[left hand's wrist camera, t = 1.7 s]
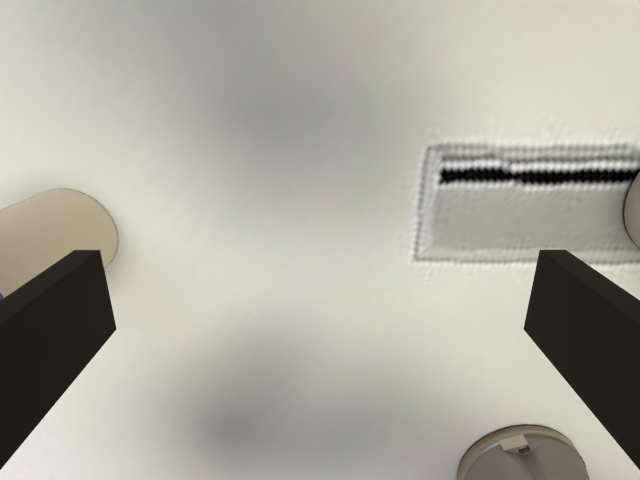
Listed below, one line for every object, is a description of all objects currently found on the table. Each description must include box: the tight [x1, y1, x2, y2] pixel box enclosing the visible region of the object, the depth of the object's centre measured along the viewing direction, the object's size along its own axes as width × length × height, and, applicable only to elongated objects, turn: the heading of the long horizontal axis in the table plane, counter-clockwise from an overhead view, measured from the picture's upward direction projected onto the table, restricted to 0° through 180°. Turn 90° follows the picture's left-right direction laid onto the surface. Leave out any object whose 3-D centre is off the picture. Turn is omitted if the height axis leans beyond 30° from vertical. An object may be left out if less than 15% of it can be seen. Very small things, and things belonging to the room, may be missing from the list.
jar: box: [0, 189, 118, 298], centre depth 34 cm, size 9×9×17 cm
